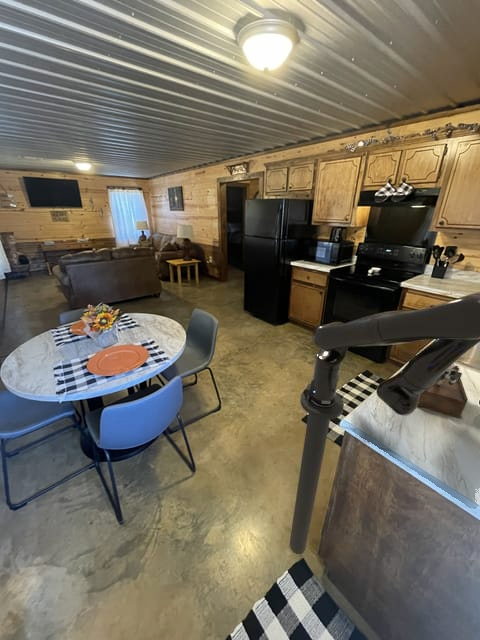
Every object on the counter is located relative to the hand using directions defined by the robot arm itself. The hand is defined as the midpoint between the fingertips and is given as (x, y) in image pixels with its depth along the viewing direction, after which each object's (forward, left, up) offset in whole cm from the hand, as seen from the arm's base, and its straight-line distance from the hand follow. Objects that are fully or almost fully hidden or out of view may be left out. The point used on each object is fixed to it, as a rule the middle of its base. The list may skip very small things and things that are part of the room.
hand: (441, 362), depth 93 cm
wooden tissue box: (+1, +3, -17) cm, 18 cm away
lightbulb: (+1, +2, -11) cm, 11 cm away
